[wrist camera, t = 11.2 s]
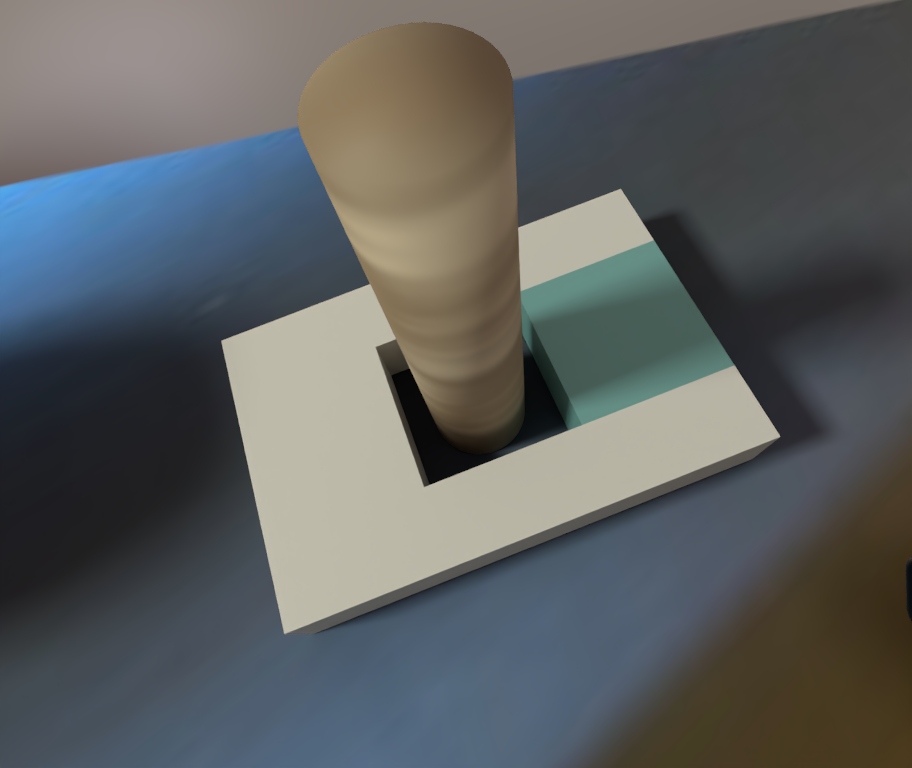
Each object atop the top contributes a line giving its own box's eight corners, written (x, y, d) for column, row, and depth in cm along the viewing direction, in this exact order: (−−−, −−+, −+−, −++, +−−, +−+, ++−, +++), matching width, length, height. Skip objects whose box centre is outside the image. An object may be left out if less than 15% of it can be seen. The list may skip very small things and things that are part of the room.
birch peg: (544, 410, 21) (560, 86, 9) (477, 473, 21) (388, 222, 8) (481, 353, 23) (415, -6, 10) (416, 410, 22) (257, 107, 9)
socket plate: (612, 230, 24) (620, 188, 22) (752, 459, 20) (780, 436, 18) (251, 368, 24) (221, 340, 21) (313, 633, 19) (284, 633, 17)
